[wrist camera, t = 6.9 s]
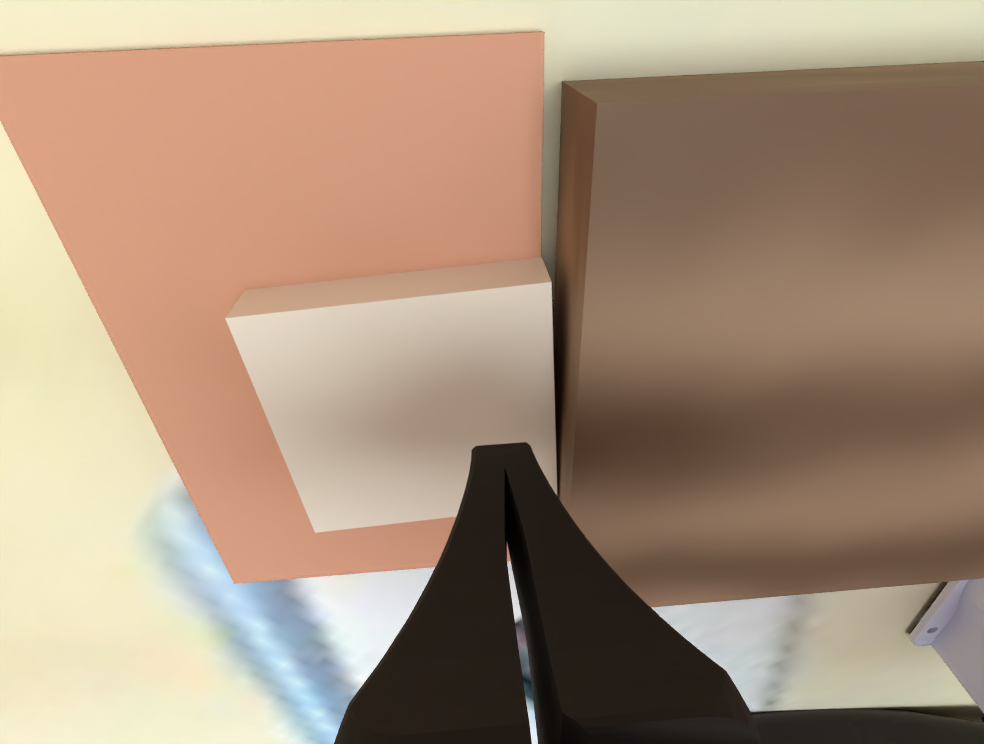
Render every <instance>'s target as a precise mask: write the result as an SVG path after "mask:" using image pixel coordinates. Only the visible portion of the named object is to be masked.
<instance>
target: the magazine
mask: <svg viewBox="0 0 984 744" xmlns="http://www.w3.org/2000/svg"><path fill="white" fill-rule="evenodd" d="M751 715H752V717H753V719H754V721H755V724H756V726H757V729H758V732H759V734H760V737H761V741H760V744H984V716H983V717H982V722H979V721H972V720H964V719H957V718H950V717H943V716H936V715H929V714H922V713H915V712H908V711H896V710H883V709H825V710H799V711H776V712H761V713H752V714H751Z"/></svg>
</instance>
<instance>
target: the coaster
mask: <svg viewBox="0 0 984 744" xmlns="http://www.w3.org/2000/svg"><path fill="white" fill-rule="evenodd" d="M225 319H226V322H227V324H228V326H229V329H230V331H231V333H232V336H233V338H234V341H235V343H236V345H237V348H238V350H239V353H240V355H241V357H242V360H243V362H244V364H245V367H246V369H247V372H248V374H249V376H250V379H251V381H252V384H253V386H254V388H255V391H256V393H257V396H258V398H259V400H260V403H261V405H262V407H263V410H264V412H265V415H266V417H267V419H268V422H269V424H270V427H271V429H272V431H273V434H274V436H275V439H276V441H277V443H278V446H279V448H280V450H281V453H282V455H283V458H284V460H285V462H286V465H287V467H288V470H289V472H290V474H291V477H292V479H293V481H294V484H295V486H296V489H297V491H298V493H299V496H300V498H301V501H302V503H303V505H304V508H305V510H306V513H307V515H308V517H309V520H310V522H311V524H312V527H313V529H314V532H315V533H318V532H326V531H335V530H344V529H353V528H361V527H370V526H379V525H387V524H396V523H405V522H413V521H422V520H431V519H439V518H448V517H457V514H458V511H459V507H460V504H461V501H462V498H463V494H464V491H465V488H466V483H467V479H468V475H469V470H470V464H471V451H472V449H473V448H474V447H475V446H480V445H493V444H507V443H520V442H527V443H528V444H529V445H531V448H532V451H533V453H534V455H535V457H536V460H537V462H538V464H539V466H540V468H541V469H542V471H543V473H544V475H545V477H546V478H547V480H548V482H549V484H550V485H551V487H552V489H553V490H554V492H555V494H556V495H557V466H556V429H555V392H554V356H553V319H552V282H551V279H550V277H549V274H548V272H547V269H546V266H545V264H544V261H543V259H542V257H537V258H528V259H519V260H510V261H501V262H492V263H483V264H474V265H465V266H456V267H447V268H438V269H429V270H420V271H411V272H402V273H393V274H384V275H375V276H366V277H357V278H348V279H339V280H330V281H321V282H312V283H303V284H294V285H285V286H276V287H267V288H258V289H249V290H245V291H244V293H243V294H242V295H241V297H240V298H239V300H238V301H237V302H236V304H235V305H234V307H233V308H232V309H231V311H230V312H229V314H228V315H227V316H226V318H225Z"/></svg>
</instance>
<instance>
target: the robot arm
mask: <svg viewBox="0 0 984 744" xmlns="http://www.w3.org/2000/svg"><path fill="white" fill-rule="evenodd" d="M507 545H508V550H509V555H510V560H511V565H512V570H513V575H514V580H515V584H516V589H517V594H518V599H519V604H520V609H521V614H522V619H523V624H524V629H525V635H526V641H527V648H528V656H529V665H530V674H531V683H532V692H533V701H534V710H535V719H536V728H537V737H538V744H760V741H761V737H760V734H759V732H758V729H757V726H756V724H755V721H754V719H753V717H752V715H751V713H750V711H749V709H748V707H747V705H746V703H745V702H744V700H743V698H742V696H741V694H740V693H739V691H738V689H737V688H736V686H735V684H734V683H733V681H732V680H731V678H730V676H729V675H728V673H727V672H726V671H725V670H724V669H723V668H722V667H720V666H719V665H718V664H716V663H715V662H714V661H712V660H711V659H710V658H709V657H707V656H706V655H705V654H703V653H702V652H701V651H700V650H699V649H697V648H696V647H695V646H694V645H692V644H691V643H690V642H689V641H687V640H686V639H685V638H684V637H683V636H682V635H680V634H679V633H678V632H677V631H676V630H675V629H674V628H672V627H671V626H670V625H669V624H668V623H667V622H666V621H664V620H663V619H662V618H661V617H660V616H659V615H658V614H657V613H656V612H655V611H654V610H653V609H652V608H651V607H650V606H648V605H647V604H646V603H645V602H644V601H643V600H642V599H641V598H640V597H639V596H638V595H637V594H636V593H635V592H634V591H633V590H632V589H631V588H630V587H629V586H628V585H627V584H626V583H625V582H624V581H623V580H622V579H621V578H620V577H619V575H618V574H617V573H616V572H615V571H614V570H613V569H612V568H611V567H610V566H609V564H608V563H607V562H606V561H605V560H604V559H603V557H602V556H601V555H600V554H599V553H598V552H597V550H596V549H595V548H594V547H593V546H592V544H591V543H590V542H589V540H588V539H587V538H586V537H585V535H584V534H583V533H582V531H581V530H580V529H579V527H578V526H577V525H576V523H575V522H574V520H573V519H572V518H571V516H570V515H569V513H568V512H567V510H566V509H565V507H564V506H563V504H562V503H561V501H560V500H559V498H558V497H557V495H556V494H555V492H554V490H553V489H552V487H551V485H550V484H549V482H548V480H547V478H546V477H545V475H544V473H543V471H542V469H541V468H540V466H539V464H538V462H537V460H536V457H535V455H534V453H533V451H532V448H531V445H529V444H528V443H527V442H520V443H507V444H493V445H480V446H475V447H474V448H473V449H472V451H471V464H470V470H469V475H468V479H467V483H466V488H465V491H464V494H463V498H462V501H461V504H460V507H459V511H458V514H457V517H456V519H455V522H454V525H453V527H452V530H451V532H450V535H449V537H448V540H447V543H446V545H445V547H444V550H443V552H442V554H441V557H440V559H439V561H438V563H437V565H436V567H435V569H434V571H433V573H432V576H431V578H430V580H429V582H428V583H427V585H426V587H425V589H424V591H423V593H422V595H421V596H420V598H419V600H418V602H417V604H416V606H415V607H414V609H413V611H412V613H411V614H410V616H409V618H408V619H407V621H406V623H405V624H404V626H403V627H402V629H401V630H400V632H399V633H398V635H397V637H396V638H395V640H394V641H393V643H392V644H391V646H390V647H389V649H388V651H387V652H386V654H385V655H384V657H383V658H382V659H381V661H380V662H379V664H378V665H377V667H376V668H375V669H374V671H373V672H372V673H371V675H370V676H369V677H368V679H367V680H366V681H365V683H364V684H363V685H362V687H361V688H360V689H359V691H358V692H357V694H356V695H355V696H354V698H353V699H352V700H351V702H350V703H349V705H348V708H347V710H346V713H345V715H344V718H343V720H342V723H341V725H340V728H339V731H338V734H337V737H336V740H335V743H334V744H532V743H531V734H530V726H529V718H528V712H527V705H526V699H525V692H524V685H523V678H522V671H521V664H520V658H519V650H518V643H517V636H516V629H515V621H514V614H513V606H512V599H511V591H510V583H509V575H508V567H507ZM909 638H910V640H911V641H912V642H913V644H914V645H917V646H925V645H932V646H933V648H934V649H935V650H936V652H937V653H938V654H939V656H940V657H941V658H942V659H943V661H944V662H945V663H946V665H947V666H948V667H949V669H950V670H951V671H952V673H953V674H954V675H955V677H956V678H957V679H958V680H959V682H960V683H961V684H962V686H963V687H964V688H965V690H966V691H967V692H968V694H969V695H970V696H971V698H972V699H973V700H974V701H975V703H976V704H977V705H978V707H979V708H980V709H981V711H982V712H983V713H984V578H983V579H972V580H960V581H949V582H948V583H947V585H946V586H945V587H944V589H943V590H942V591H941V593H940V594H939V595H938V597H937V598H936V600H935V601H934V602H933V604H932V605H931V606H930V608H929V609H928V611H927V612H926V613H925V615H924V616H923V617H922V619H921V620H920V621H919V623H918V624H917V626H916V627H915V628H914V630H913V631H912V632H911V634H910V636H909Z"/></svg>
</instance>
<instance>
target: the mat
mask: <svg viewBox="0 0 984 744" xmlns="http://www.w3.org/2000/svg"><path fill="white" fill-rule="evenodd" d="M543 86H544V32H521V33H499V34H476V35H454V36H432V37H409V38H387V39H364V40H342V41H319V42H297V43H275V44H252V45H230V46H207V47H185V48H162V49H140V50H118V51H95V52H73V53H50V54H28V55H5V56H0V121H1V123H2V125H3V127H4V129H5V131H6V133H7V135H8V137H9V139H10V141H11V143H12V145H13V147H14V149H15V151H16V153H17V155H18V157H19V159H20V160H21V162H22V164H23V166H24V168H25V170H26V172H27V174H28V176H29V178H30V180H31V182H32V184H33V186H34V188H35V190H36V192H37V194H38V196H39V198H40V200H41V202H42V204H43V206H44V208H45V210H46V212H47V214H48V216H49V218H50V220H51V222H52V224H53V226H54V228H55V230H56V232H57V234H58V236H59V238H60V240H61V242H62V244H63V246H64V248H65V250H66V252H67V254H68V256H69V258H70V259H71V261H72V263H73V265H74V267H75V269H76V271H77V273H78V275H79V277H80V279H81V281H82V283H83V285H84V287H85V289H86V291H87V293H88V295H89V297H90V299H91V301H92V303H93V305H94V307H95V309H96V311H97V313H98V315H99V317H100V319H101V321H102V323H103V325H104V327H105V329H106V331H107V333H108V335H109V337H110V339H111V341H112V343H113V345H114V347H115V349H116V351H117V353H118V355H119V357H120V358H121V360H122V362H123V364H124V366H125V368H126V370H127V372H128V374H129V376H130V378H131V380H132V382H133V384H134V386H135V388H136V390H137V392H138V394H139V396H140V398H141V400H142V402H143V404H144V406H145V408H146V410H147V412H148V414H149V416H150V418H151V420H152V422H153V424H154V426H155V428H156V430H157V432H158V434H159V436H160V438H161V440H162V442H163V444H164V446H165V448H166V450H167V452H168V454H169V456H170V457H171V459H172V461H173V463H174V465H175V467H176V469H177V471H178V473H179V475H180V477H181V479H182V481H183V483H184V485H185V487H186V489H187V491H188V493H189V495H190V497H191V499H192V501H193V503H194V505H195V507H196V509H197V511H198V513H199V515H200V517H201V519H202V521H203V523H204V525H205V527H206V529H207V531H208V533H209V535H210V537H211V539H212V541H213V543H214V545H215V547H216V549H217V551H218V553H219V555H220V556H221V558H222V560H223V562H224V564H225V566H226V568H227V570H228V572H229V574H230V576H231V578H232V580H233V582H234V584H235V583H247V582H259V581H271V580H283V579H295V578H307V577H319V576H332V575H344V574H356V573H368V572H380V571H392V570H404V569H416V568H428V567H436V565H437V563H438V561H439V559H440V557H441V554H442V552H443V550H444V547H445V545H446V543H447V540H448V537H449V535H450V532H451V530H452V527H453V525H454V522H455V519H456V517H448V518H439V519H431V520H422V521H413V522H405V523H396V524H387V525H379V526H370V527H361V528H353V529H344V530H335V531H326V532H318V533H315V532H314V529H313V527H312V524H311V522H310V520H309V517H308V515H307V513H306V510H305V508H304V505H303V503H302V501H301V498H300V496H299V493H298V491H297V489H296V486H295V484H294V481H293V479H292V477H291V474H290V472H289V470H288V467H287V465H286V462H285V460H284V458H283V455H282V453H281V450H280V448H279V446H278V443H277V441H276V439H275V436H274V434H273V431H272V429H271V427H270V424H269V422H268V419H267V417H266V415H265V412H264V410H263V407H262V405H261V403H260V400H259V398H258V396H257V393H256V391H255V388H254V386H253V384H252V381H251V379H250V376H249V374H248V372H247V369H246V367H245V364H244V362H243V360H242V357H241V355H240V353H239V350H238V348H237V345H236V343H235V341H234V338H233V336H232V333H231V331H230V329H229V326H228V324H227V322H226V319H225V318H226V316H227V315H228V314H229V312H230V311H231V309H232V308H233V307H234V305H235V304H236V302H237V301H238V300H239V298H240V297H241V295H242V294H243V293H244V291H245V290H249V289H258V288H267V287H276V286H285V285H294V284H303V283H312V282H321V281H330V280H339V279H348V278H357V277H366V276H375V275H384V274H393V273H402V272H411V271H420V270H429V269H438V268H447V267H456V266H465V265H474V264H483V263H492V262H501V261H510V260H519V259H528V258H537V257H541V206H542V146H543ZM507 561H511V560H510V555H509V550H508V545H507Z"/></svg>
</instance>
